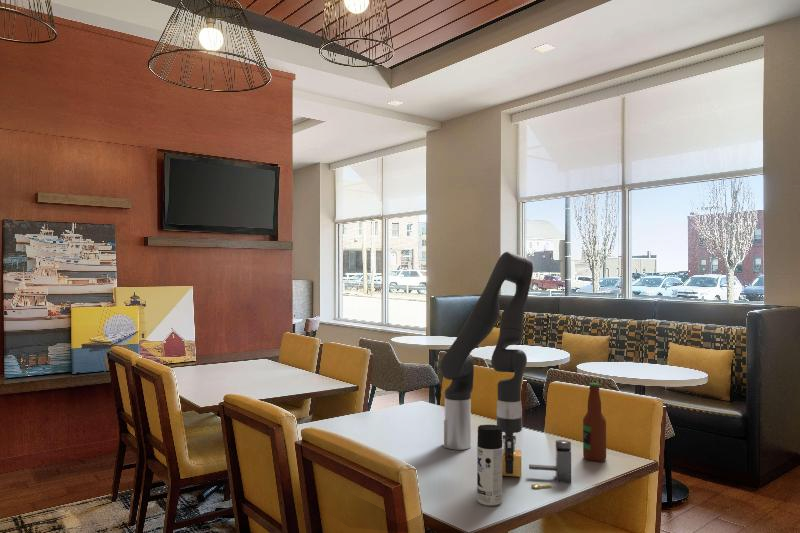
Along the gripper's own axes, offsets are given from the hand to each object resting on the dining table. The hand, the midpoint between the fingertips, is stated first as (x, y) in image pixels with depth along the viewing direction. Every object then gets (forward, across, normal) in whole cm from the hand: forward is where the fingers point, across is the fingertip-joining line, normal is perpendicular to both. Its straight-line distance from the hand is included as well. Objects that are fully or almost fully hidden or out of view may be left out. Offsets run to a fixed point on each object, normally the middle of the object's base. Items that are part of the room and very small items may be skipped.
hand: (509, 469), depth 176 cm
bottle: (+2, +22, -28) cm, 36 cm away
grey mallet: (+2, 0, -12) cm, 12 cm away
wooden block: (+1, 0, 0) cm, 1 cm away
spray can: (+2, -22, +5) cm, 23 cm away
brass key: (+2, -8, -10) cm, 13 cm away
